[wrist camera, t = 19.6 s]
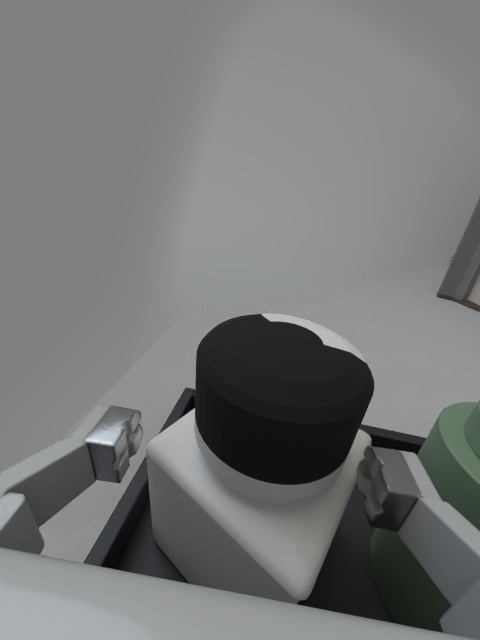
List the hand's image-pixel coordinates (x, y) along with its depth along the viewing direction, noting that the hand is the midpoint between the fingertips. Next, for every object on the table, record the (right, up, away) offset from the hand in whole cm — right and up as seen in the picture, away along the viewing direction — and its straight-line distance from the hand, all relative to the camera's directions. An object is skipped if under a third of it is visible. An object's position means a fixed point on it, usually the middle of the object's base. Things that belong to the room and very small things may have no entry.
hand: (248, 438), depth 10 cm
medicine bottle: (0, -7, +5) cm, 9 cm away
